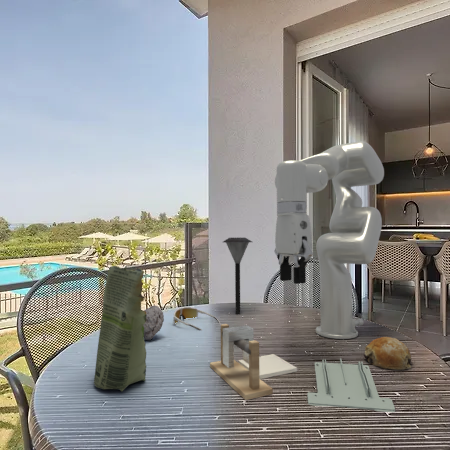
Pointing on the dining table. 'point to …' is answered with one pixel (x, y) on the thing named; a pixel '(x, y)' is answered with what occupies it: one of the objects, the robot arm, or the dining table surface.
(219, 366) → the rail stand
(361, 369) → the metal bracket
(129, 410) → the dining table surface
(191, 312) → the sunglasses
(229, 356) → the notched grey block
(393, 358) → the bread roll
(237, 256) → the solar garden light
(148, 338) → the pumice stone
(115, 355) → the pouch
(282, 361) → the square tile
